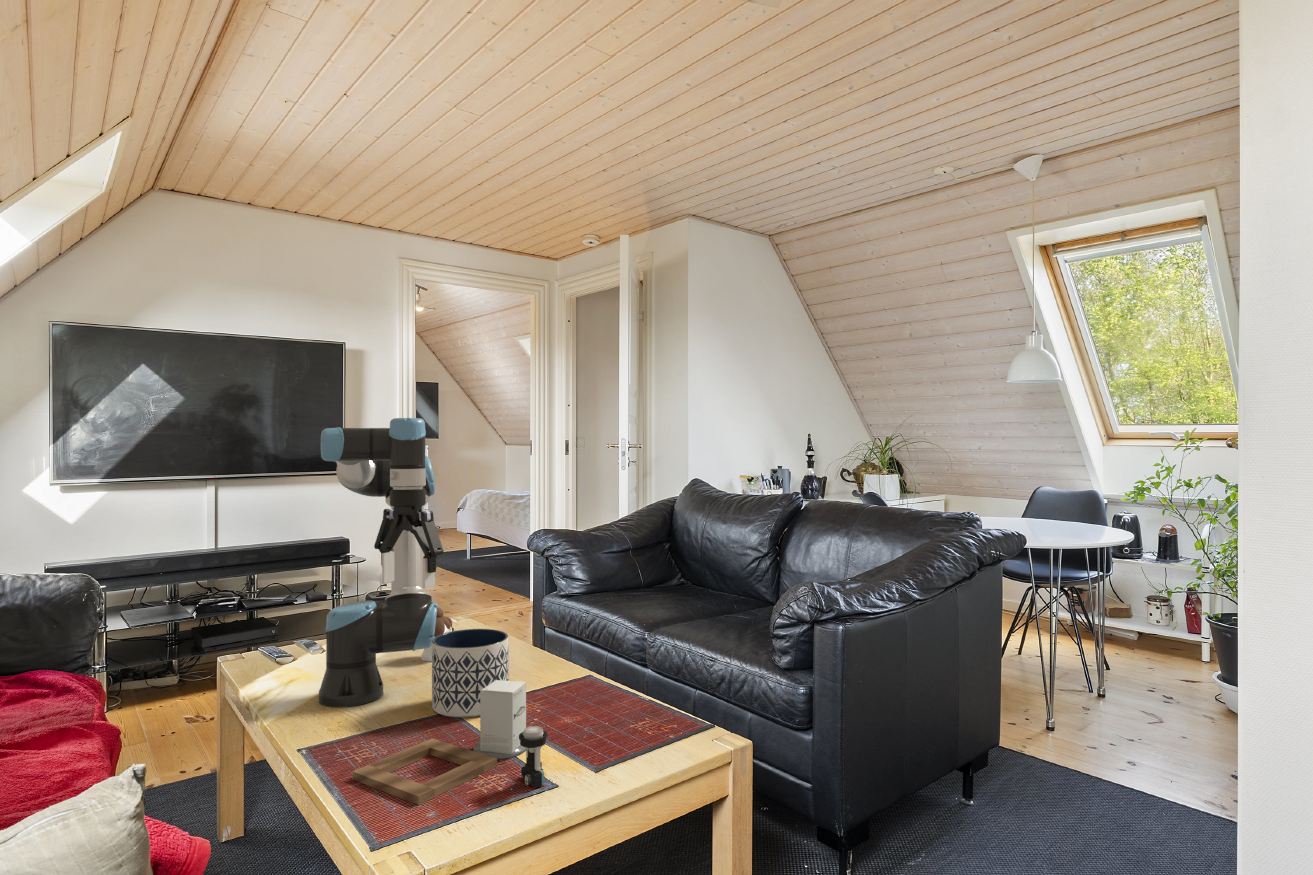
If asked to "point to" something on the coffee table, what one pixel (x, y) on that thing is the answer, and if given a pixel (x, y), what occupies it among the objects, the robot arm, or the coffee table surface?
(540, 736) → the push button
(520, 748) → the coaster
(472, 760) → the board
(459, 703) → the planter
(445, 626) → the figurine
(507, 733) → the supplement box
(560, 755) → the coffee table surface
